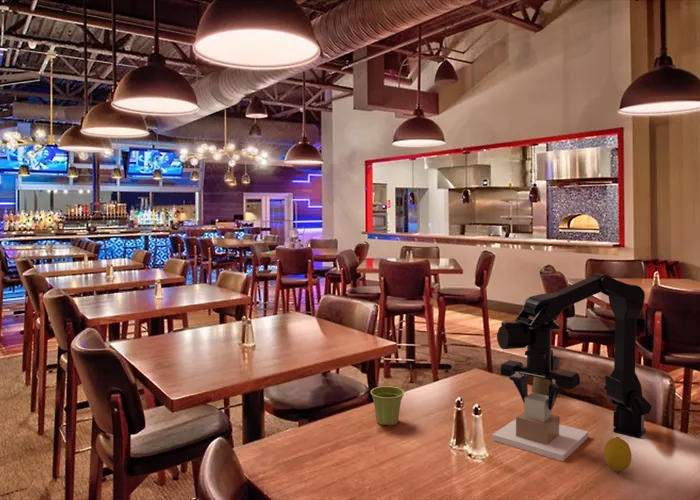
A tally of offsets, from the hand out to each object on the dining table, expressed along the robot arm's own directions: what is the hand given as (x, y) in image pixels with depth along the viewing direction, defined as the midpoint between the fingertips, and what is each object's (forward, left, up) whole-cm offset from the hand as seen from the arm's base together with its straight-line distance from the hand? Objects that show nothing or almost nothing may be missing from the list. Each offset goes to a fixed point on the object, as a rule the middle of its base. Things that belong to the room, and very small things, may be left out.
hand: (538, 406), depth 135 cm
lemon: (-20, +4, -9) cm, 22 cm away
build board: (0, -2, -9) cm, 9 cm away
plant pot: (+37, +15, -9) cm, 41 cm away
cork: (+14, -37, -9) cm, 41 cm away
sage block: (0, 0, -2) cm, 2 cm away
